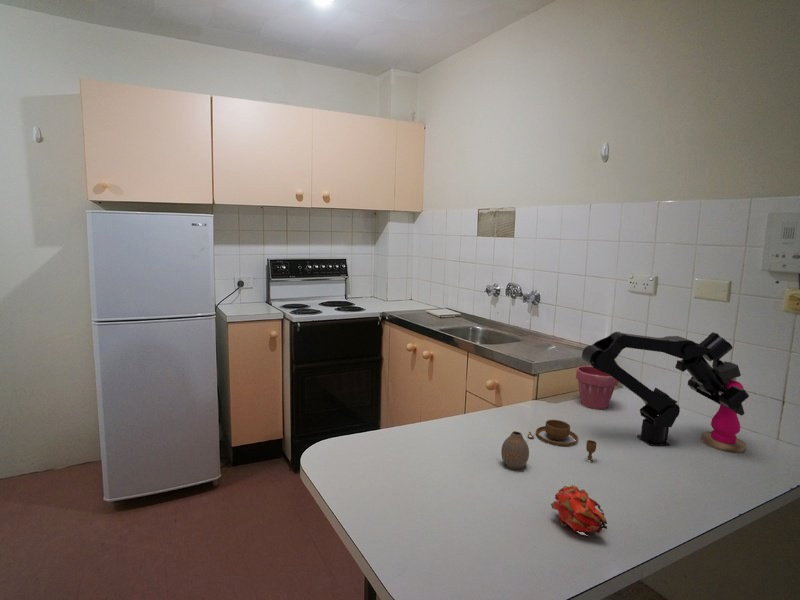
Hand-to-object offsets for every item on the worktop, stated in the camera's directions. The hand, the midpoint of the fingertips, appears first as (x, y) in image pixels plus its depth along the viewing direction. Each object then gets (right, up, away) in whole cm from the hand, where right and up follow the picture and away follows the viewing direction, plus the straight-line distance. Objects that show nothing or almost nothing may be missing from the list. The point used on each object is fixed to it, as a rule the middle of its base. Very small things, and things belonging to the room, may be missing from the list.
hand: (732, 409), depth 140 cm
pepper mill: (-2, -10, +1) cm, 10 cm away
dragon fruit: (-63, -14, -44) cm, 78 cm away
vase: (-70, -10, -19) cm, 73 cm away
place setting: (-53, -10, -4) cm, 54 cm away
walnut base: (-2, -11, +1) cm, 11 cm away
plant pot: (-29, -6, +30) cm, 42 cm away
